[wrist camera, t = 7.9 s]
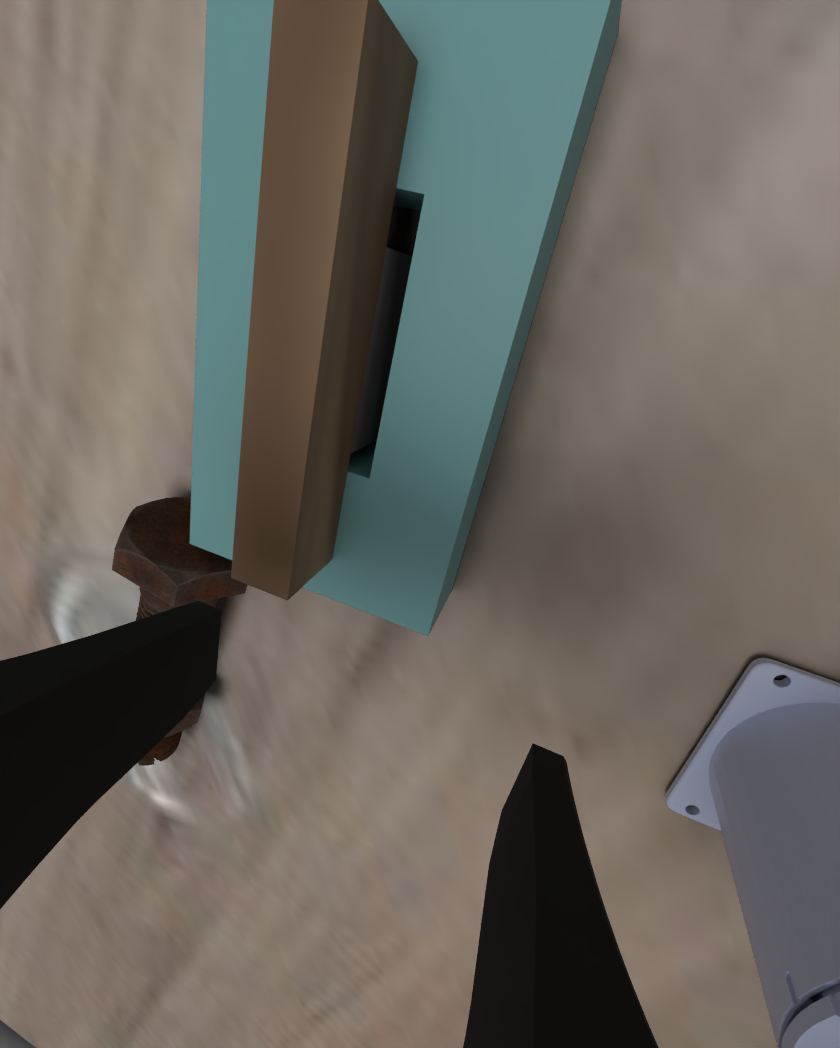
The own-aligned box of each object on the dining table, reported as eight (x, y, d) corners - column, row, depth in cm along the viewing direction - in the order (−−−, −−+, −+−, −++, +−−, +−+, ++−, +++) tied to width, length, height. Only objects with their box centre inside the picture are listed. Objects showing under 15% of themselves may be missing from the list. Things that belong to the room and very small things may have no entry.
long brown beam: (449, 108, 15) (370, -14, 9) (365, 529, 21) (287, 600, 15) (386, 97, 15) (275, -27, 10) (322, 513, 21) (230, 577, 16)
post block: (618, 31, 13) (626, -57, 10) (451, 590, 21) (427, 636, 18) (287, -15, 15) (210, -102, 12) (243, 513, 23) (189, 543, 20)
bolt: (185, 689, 32) (236, 494, 24) (217, 758, 29) (284, 561, 22) (75, 723, 28) (97, 500, 20) (100, 807, 25) (136, 585, 18)
